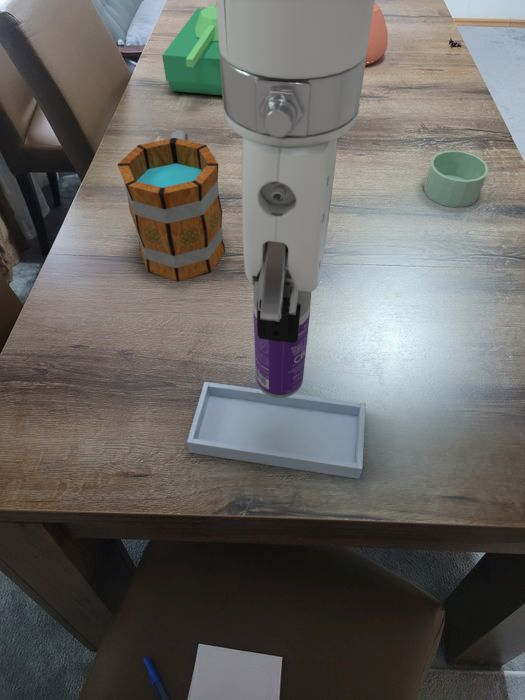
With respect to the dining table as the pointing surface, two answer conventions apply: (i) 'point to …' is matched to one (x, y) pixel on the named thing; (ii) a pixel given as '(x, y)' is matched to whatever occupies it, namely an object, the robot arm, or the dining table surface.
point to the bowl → (455, 178)
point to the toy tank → (195, 55)
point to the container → (282, 353)
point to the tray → (279, 430)
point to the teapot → (377, 36)
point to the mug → (175, 206)
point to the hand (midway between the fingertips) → (282, 311)
